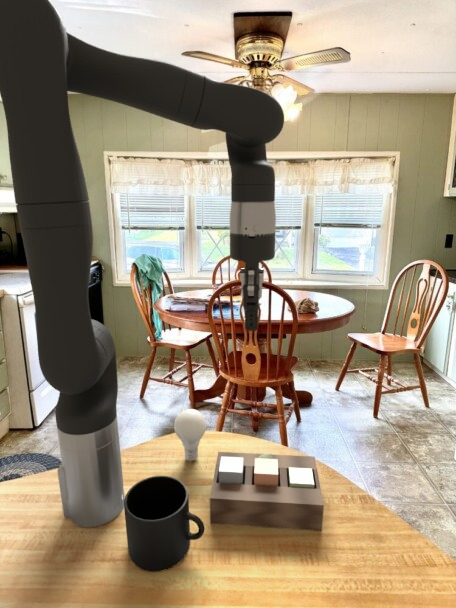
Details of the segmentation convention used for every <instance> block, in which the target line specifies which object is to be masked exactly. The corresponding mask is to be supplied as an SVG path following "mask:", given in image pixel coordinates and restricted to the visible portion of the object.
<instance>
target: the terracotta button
mask: <svg viewBox="0 0 456 608" xmlns="http://www.w3.org/2000/svg"><path fill="white" fill-rule="evenodd" d="M254 485H262V486H278V459H263V458H255V469H254Z"/></svg>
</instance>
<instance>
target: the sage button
mask: <svg viewBox="0 0 456 608" xmlns="http://www.w3.org/2000/svg"><path fill="white" fill-rule="evenodd" d="M288 487H297V488H314V479H313V473H312V469H311V468H292V467H289V475H288Z"/></svg>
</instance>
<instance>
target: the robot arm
mask: <svg viewBox="0 0 456 608" xmlns="http://www.w3.org/2000/svg"><path fill="white" fill-rule="evenodd" d="M68 92H71V93H75V94H80V95H81V94H82V95H86V96H90V97H95V98H100V99H103V100H106V101H107V100H108V101H110V102H114V103H117V104H122V105H125V106H127V107H131V108H134V109H137V110H139V111H143V112H146V113H149V114H151V115H155V116H158V117H160V118H163V119H166V120H170V121H173V122H175V123H178V124H181V125H183V126H188V127H190V128H193V129H197V130H202V131H208V130H209V131H211V130H216V131H220V132H222V133H225V144H226V150H227V156H228V161H229V162H228V163H229V167H230V171H231V172H230V173H231V179H230V181H231V183H230V187H231V190H230V191H231V192H230V194H231V195H230V196H231V197H230V199H231V201H230V202H231V203H230V211H229V257H230V258H231V260H233V261H236V262H237V261H238V262H243V263H244V267H243V268H241V267H240V271H239V280H240V283H241V298H242V299H243V305H242V308H243V310H244V323H245V324H244V326H245V327H244V329H245V330H246V331H252V332H256V331H258V329H259V309H260V306H261V305H260V300H261V298H262V295H263V282H264V277H265V276H264V273H265V268H264V267H263V268H260V263H261V262H268V261H271V260H274V258H275V257H276V256H275V255H276V222H277V221H276V220H277V218H276V217H277V215H276V206H275V204H276V203H275V201H276V200H275V197H276V196H275V195H276V175H275V170H274V167H273V166H272V165H271V164H270V163H268V160H267V159H268V157H267V147H266V144H269V143H271V142H272V141H274V140H275V139H276V138H277V137H278V136H279V135H280V134H281V132H282V131H283V128H284V124H285V114H284V109H283V107H282V105H281V104H280V102H279V101H278V99H276V98H275V97H274V96H272V95H271V94H269V93H268V92H266V91H263V90H262V89H261V90H260V89H257V88H254V87H250V86H246V85H240V84H236V83H232V82H231V83H229V82H224V81H219V80H215V79H213V78H210V77H208V76H206V75H204V74H201V73H199V72H196V71H193V70H191V69H187V68H185V67H182V66H180V65H176V64H173V63H172V62H167V61H164V60H163V61H162V60H158V59H154V58H153V59H152V58H148V57H141V56H134V55H133V56H132V55H126V54H121V53H117V52H113V51H110V50H106V49H104V48H101V47H98V46H95V45H93V44H91V43H88V42H86V41H84V40H82V39H80V38H79V37H76V36H74V35H72V34H71V33H69V32H67V29H66V26H65V24H64V20H63V19H62V17H61V15H60V12H58V10H57V8H56V7H55V6H54V4H53V3H52V2H51V0H0V97H1V102H2V106H3V107H2V108H3V111H4V115H5V117H4V118H5V121H6V130H7V142H8V153H9V154H8V155H9V163H10V171H11V178H12V180H11V181H12V186H13V187H12V189H13V193H14V202H15V204H16V205H15V207H16V208H15V209H16V211H17V212H16V213H17V219H18V223H19V228H20V229H19V230H20V234H21V239H22V243H23V248H24V254H25V258H26V264H27V271H28V276H29V279H30V280H29V281H30V284H31V285H30V286H31V291H32V296H33V302H34V308H35V309H34V310H35V323H36V326H35V327H36V337H37V338H36V340H37V355H38V364H39V368H40V372H41V373H42V376H43V378H44V380H45V381H46V382H47V383H48V384H49V386H51V387H52V388H53V389H55V391H58V392H59V395H58V398H57V403H56V407H55V410H54V412H55V413H54V415H55V424H56V430H57V438H58V442H59V443H58V444H59V451H60V457H61V464H60V465H59V466H58V468H57V470H56V472H57V477H58V478H57V479H58V484H59V492H60V499H61V506H62V507H61V508H62V512H63V518H64V519H69V520H71V521H72V522H73V524H75V525H76V526H78V527H82V528H95V527H99V526H103V525H104V524H107V523H109V522H112V521H113V520H114V519H115V518H117V517H118V516H119V515H120V514H121V513H122V510H123V509H124V499H125V488H124V478H123V477H124V476H123V466H122V457H121V456H122V455H121V454H122V453H121V445H120V433H119V423H118V414H117V410H118V409H117V400H118V392H119V391H118V390H119V383H118V367H117V354H116V353H117V351H116V347H115V346H116V344H115V341H114V338H113V336H112V334H111V332H110V330H109V329H108V328H107V327H106V326H105V325H104V324H103V323H101V322H99V321H98V320H95V319H92V316H91V310H90V302H89V285H90V276H91V267H92V259H93V250H94V247H93V246H94V236H93V231H94V230H93V221H92V213H91V205H90V198H89V194H88V193H89V192H88V187H87V183H86V182H87V181H86V177H85V174H84V169H83V164H82V160H81V157H80V152H79V150H78V146H77V143H76V138H75V134H74V130H73V126H72V122H71V116H70V115H71V114H70V109H69V107H70V106H69V96H68V95H69V94H68Z"/></svg>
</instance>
